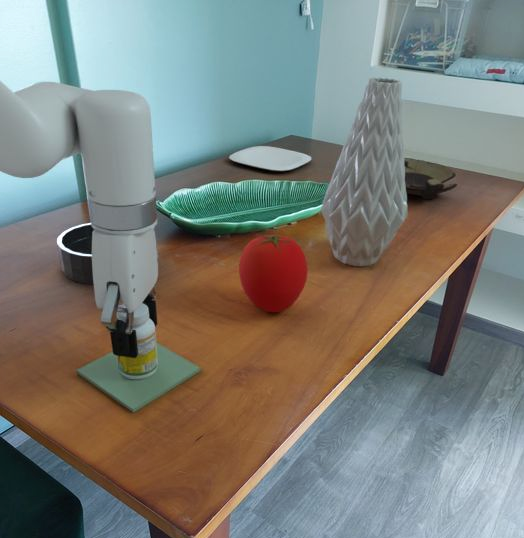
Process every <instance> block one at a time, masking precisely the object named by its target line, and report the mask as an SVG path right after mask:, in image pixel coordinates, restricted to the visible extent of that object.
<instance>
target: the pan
mask: <svg viewBox="0 0 524 538" xmlns="http://www.w3.org/2000/svg"><path fill="white" fill-rule="evenodd" d="M93 230H94V228H92V226H91V222H89V223H88V222H87V223H83V224H78V225H76V226H73V227H70V228H68V229H67V230H64V231H62V232H61V234H60V235H58V237H57V239H56V246H57V252H58V257H59V262H60V269H61V271H62V273H63V275H64V276H65V277H66V278H68V279H69V280H71V281H73V282H76V283H80V284H84V285H92V286H94V282H93V269H92V233H93Z"/></svg>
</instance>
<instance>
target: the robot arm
mask: <svg viewBox="0 0 524 538" xmlns="http://www.w3.org/2000/svg"><path fill="white" fill-rule="evenodd" d="M152 130H153V129H152V116H151V109H150V105H149V102H148V101H147V99H146V98H145V97H144V96H142V95H141V94H140V93H137V92H134V91H129V90H123V89H98V90H92V89H88V88H82V87H78V86H74V85H70V84H65V83H61V82H56V81H39V82H35V83H32V84H29V85H27V86H23V87H21V88H18V89H16V90H12V89H10V87H8V86H7V85H6V84H5V83H3V81H2V80H0V172H2V173H3V174H5V175H8V176H11V177H15V178H20V179H34V178H37V177H41V176H44V175H45V174H46V173H48V172H49V171H51V170H52V169H54V168H56V166H57V165H59V164H60V163H61V162H63V161H64V160H66V159H68V158H71V157H73V156H76V155H80V156H81V160H82V161H81V162H82V170H83V177H84V184H85V189H86V199H87V207H88V213H89V219H90V223H91V226H92V228H94V230H93V233H92V269H93V282H94V285H93V292H94V299H95V305H96V307H97V309H99V310H102V311H101V316H100V323H101V324H102V325H103V326H104V327H105V328H106V329H107V331H108V332H109V334H110V341H111V349H112V352H113V354H114V355H117V356H123V357H130V358H136V357H137V356H138V346H137V336H136V330H133V319H134V311H135V310H137V309H138V307H139V306H140V305H141V304H142V303H143V304H145V305H147V307H148V310H149V318H150V319H151V320H152V321H153V323H154V325H155V328H156V327H157V325H158V313H157V301H156V297H157V290H156V288H155V285H156V283H157V281H158V278H159V257H158V248H157V239H156V231H155V228H156V226H158V210H157V194H156V180H155V179H156V177H155V164H154V163H155V161H154V160H155V159H154V145H153V131H152ZM120 303H122V304H124V305H127V307H122V306H120V305H119V304H120ZM117 312H122V313H126V323H125V322H124V321H122V320H119V319H118V318H117Z"/></svg>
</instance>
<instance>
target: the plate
mask: <svg viewBox="0 0 524 538" xmlns="http://www.w3.org/2000/svg"><path fill="white" fill-rule="evenodd" d="M228 159H229V160H230V161H232V162H233V163H236V164H239V165H243V166H247V167H250V168H253V169H254V168H255V169H258V170H262V171H270V172H290V171H292V170H296V169H298V168H300V167H302V166H305V165H307V164H309V162H311V161H312V156H310V155H308V154H306V153H302V152H299V151H294V150H290V149H286V148H281V147H276V146H269V145H267V146H266V145H258V146H252V147H251V146H250V147H247V148H244V149H240V150H238V151H236V152H233V153H232V154H229V157H228Z"/></svg>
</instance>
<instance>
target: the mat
mask: <svg viewBox="0 0 524 538" xmlns="http://www.w3.org/2000/svg"><path fill="white" fill-rule="evenodd" d="M156 347H157V359H158V368H157V370H156V372H155V373H154V374H153V375H151V376H149V377H147V378H144V379H130V378H127V377H125V376H124V375H122V374H121V373H120V371H119V367H118V359H117V355H114V354H113V351H111V352H108V353H107V354H105V355H103V356H101V357H99V358H96V359H95V360H93V361H91V362H89V363H86V364H85V365H82V366H81V367H80V368H77V369H76V373H77V374H78V375H79V376H81V377H82V378H83V379H85V380H86V381H88V382H89V383H90V384H92V385H93V386H95V387H96V388H97V389H99V390H100V391H101V392H103V393H105V394H106V395H107V396H109V397H110V398H112V399H113V400H114V401H116V402H118V403H119V404H120V405H122V406H123V407H124V408H126V409H127V410H129V411H130V412H131V413H135V412H137V411H139V410H140V409H142V408H144V407H145V406H147V405H148V404H150V403H151V402H153V401H155V400H157V399H158V398H160V397H162V396H163V395H165V394H166V393H168V392H169V391H172V390H173V389H174V388H176V387H177V386H179V385H181V384H183V383H184V382H185V381H187V380H189V379H190V378H192V377H193V376H195V375H196V374H199V373H200V372H201V367H199V366H198V365H196V364H195V363H193V362H191V361H190V360H188V359H186V358H184V357H183V356H181V355H180V354H177V353H176V352H174V351H173V350H171V349H169V348H167V347H166V346H164V345H162V344H161V343H158V342H157V341H156Z"/></svg>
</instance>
